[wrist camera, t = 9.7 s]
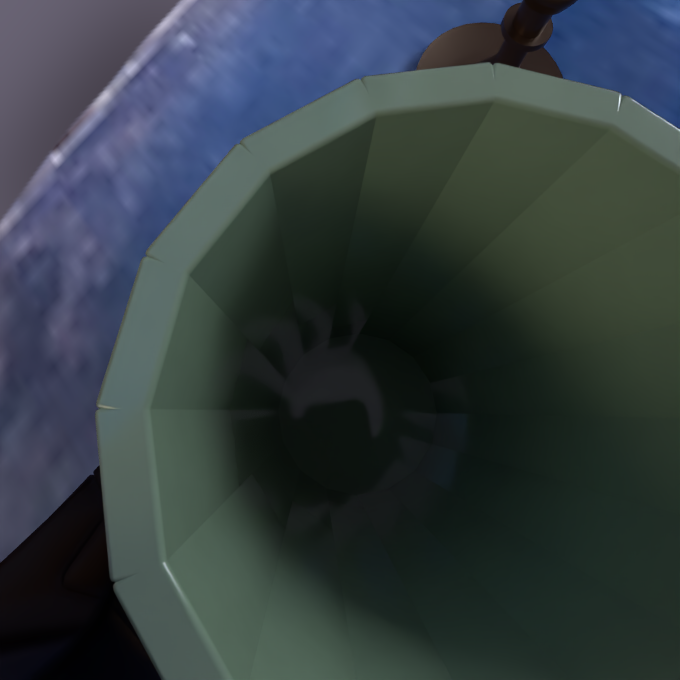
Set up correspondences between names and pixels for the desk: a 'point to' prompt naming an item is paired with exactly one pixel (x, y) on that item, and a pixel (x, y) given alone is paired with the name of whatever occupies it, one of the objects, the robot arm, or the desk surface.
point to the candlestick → (501, 40)
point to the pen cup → (409, 393)
